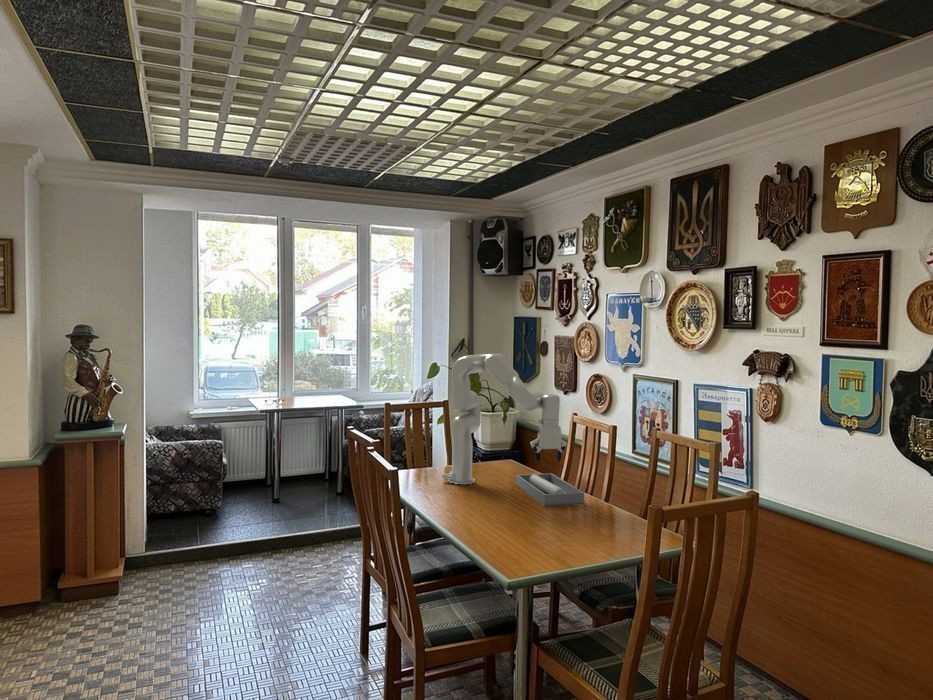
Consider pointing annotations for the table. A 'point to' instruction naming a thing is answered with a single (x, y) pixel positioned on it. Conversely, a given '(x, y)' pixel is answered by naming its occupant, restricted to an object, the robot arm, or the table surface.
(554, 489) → the tube
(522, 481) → the bin
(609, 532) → the table surface
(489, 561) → the table surface
